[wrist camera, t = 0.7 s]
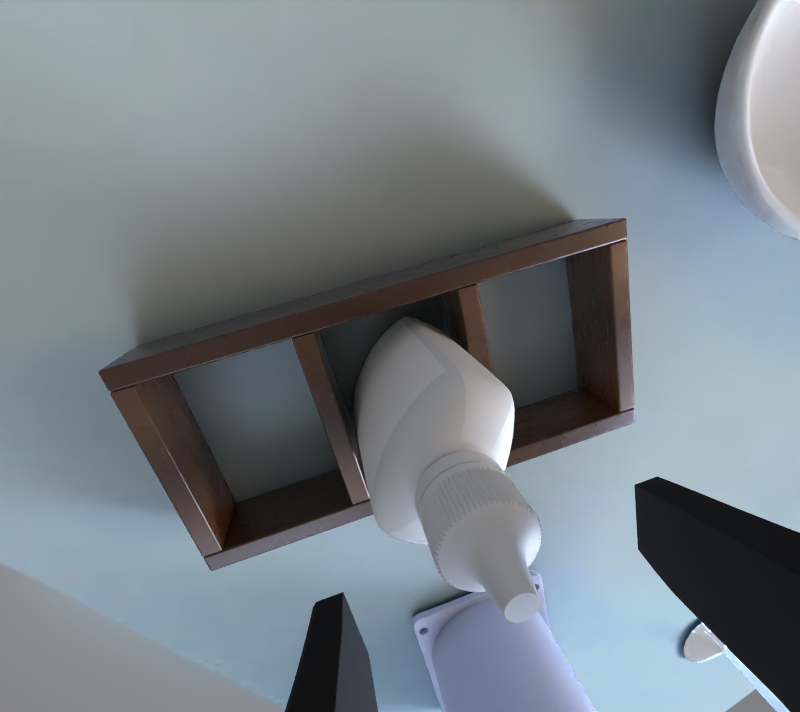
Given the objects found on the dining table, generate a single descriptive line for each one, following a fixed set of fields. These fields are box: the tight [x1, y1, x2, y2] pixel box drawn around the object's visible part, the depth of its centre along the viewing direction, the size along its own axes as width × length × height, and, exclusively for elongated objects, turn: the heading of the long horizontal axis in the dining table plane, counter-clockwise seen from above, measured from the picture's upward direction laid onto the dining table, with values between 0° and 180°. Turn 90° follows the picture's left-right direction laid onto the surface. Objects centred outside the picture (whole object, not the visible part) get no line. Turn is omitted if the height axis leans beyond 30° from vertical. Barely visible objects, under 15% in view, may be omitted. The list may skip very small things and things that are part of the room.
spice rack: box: [99, 218, 635, 571], centre depth 17 cm, size 9×19×3 cm, turn 104°
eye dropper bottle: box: [353, 317, 542, 623], centre depth 13 cm, size 4×6×12 cm
